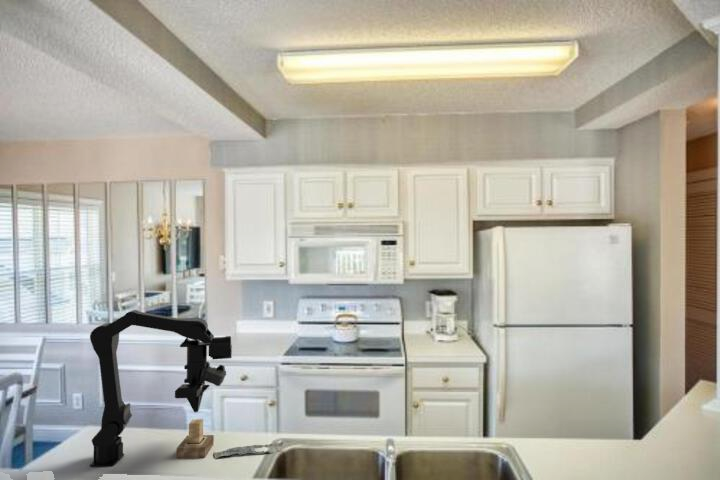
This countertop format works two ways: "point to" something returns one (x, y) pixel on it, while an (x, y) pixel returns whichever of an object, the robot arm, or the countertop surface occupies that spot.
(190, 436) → the peg
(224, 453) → the driftwood
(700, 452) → the countertop surface
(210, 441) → the board
